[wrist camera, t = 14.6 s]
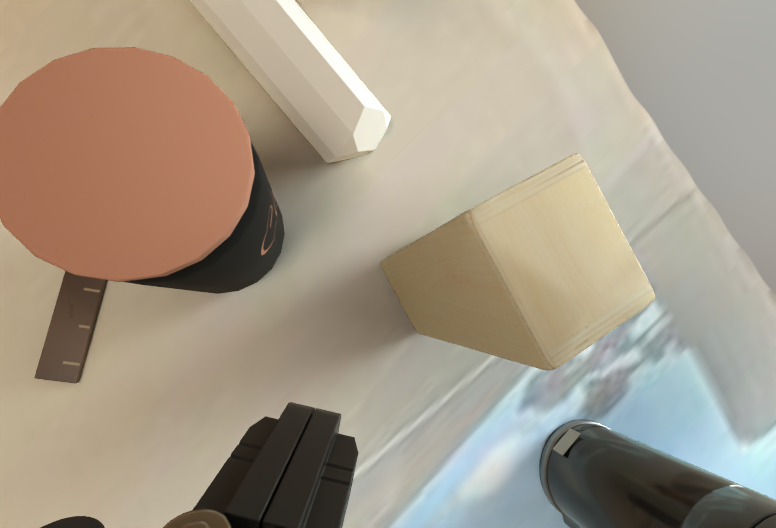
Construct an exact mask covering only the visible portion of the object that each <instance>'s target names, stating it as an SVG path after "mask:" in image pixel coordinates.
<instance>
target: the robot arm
mask: <svg viewBox="0 0 776 528" xmlns="http://www.w3.org/2000/svg"><path fill="white" fill-rule="evenodd" d="M340 420H341V414H339V413H335V412H330V411H326V410H322V409H318V408H316V409H315V408H313V407H309V406H304V405H300V404H296V403H291V402H290V403H288V405H287V406H286V408H285V410H284V411H283V413H282V415H281V416H280V418H279V420H278V419H274V418H269V417H264V418H263V419H261V420H260V421H258V422H257V423H255V424H254V425H252V426H251V427H250V428H249V429H248V431H247V432H246V434H245V435H244V436H243V438H242V439H241V441H240V443H239V445H237V447H236V448H235V450H234V451H233V452H232V454H231V457H230V458H228V460H227V461H226V463H225V464H224V465H223V467H222V468H221V470H220V471H219V473H218V474H217V476H216V477H215V479H214V480H213V481H212V483H211V484H210V486H209V487H208V489H207V490H206V492H205V493H204V495H203V496H202V497H201V499H200V500H199V502H198V503H197V505H196V506H195V507H194V509H193V510H192V511H189V512H186V513H183V514H181V515H179V516H177V517H176V518H174V519H173V520H171V521H170V522H169V523H167V524H166V525H165V526H164V527H163V528H342V526H343V521H344V517H345V513H346V509H347V505H348V500H349V496H350V491H351V486H352V481H353V476H354V471H355V467H356V462H357V457H358V450H357V446H356V442H355V438H354V437H350V436H346V435H342V434H338V431H339V426H340ZM540 477H541V483H542V486H543V489H544V492H545V494H546V496H547V498H548V499H549V501H550V502H551V504H552V505H553V506H554V507H555V508H556V509H557V510H558V511H560V512H561V513H562V514H563V517H564V522H565V523H566V524H567V525H568V526H569V527H570V528H776V500H775V499H773V498H770V497H768V496H766V495H763V494H761V493H758V492H756V491H754V490H751V489H749V488H746V487H744V486H742V485H739V484H737V483H735V482H732V481H730V480H728V479H725V478H723V477H721V476H718V475H716V474H714V473H711V472H709V471H707V470H704V469H702V468H700V467H697V466H695V465H693V464H690V463H688V462H686V461H683V460H681V459H678V458H676V457H674V456H671V455H669V454H667V453H664V452H662V451H660V450H657V449H655V448H653V447H650V446H648V445H646V444H643V443H641V442H639V441H636V440H634V439H632V438H629V437H627V436H625V435H622V434H620V433H618V432H615V431H613V430H611V429H609V428H608V427H606V426H604V425H602V424H599V423H597V422H594V421H591V420H582V419H581V420H574V421H571V422H568V423H566V424H564V425H562V426H561V427H560V428H558V429H557V430H556V431H555V432H554V433H553V434H552V435H551V437H550V438H549V440H548V441H547V443H546V445H545V447H544V450H543V453H542V457H541V462H540ZM41 528H105V527H104V525H103V524H102V523H101V522H100V521H98V520H97V519H95V518H91V517H86V516H75V517H69V518H65V519H61V520H58V521H55V522H52V523H50V524H48V525H45V526H43V527H41Z"/></svg>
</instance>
